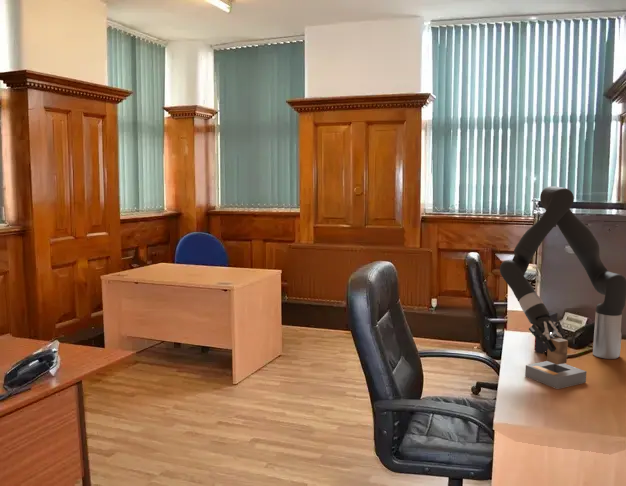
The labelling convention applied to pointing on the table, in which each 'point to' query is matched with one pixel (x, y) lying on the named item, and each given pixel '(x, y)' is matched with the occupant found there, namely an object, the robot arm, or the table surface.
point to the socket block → (555, 374)
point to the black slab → (541, 346)
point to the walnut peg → (558, 351)
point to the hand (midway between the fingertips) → (558, 349)
